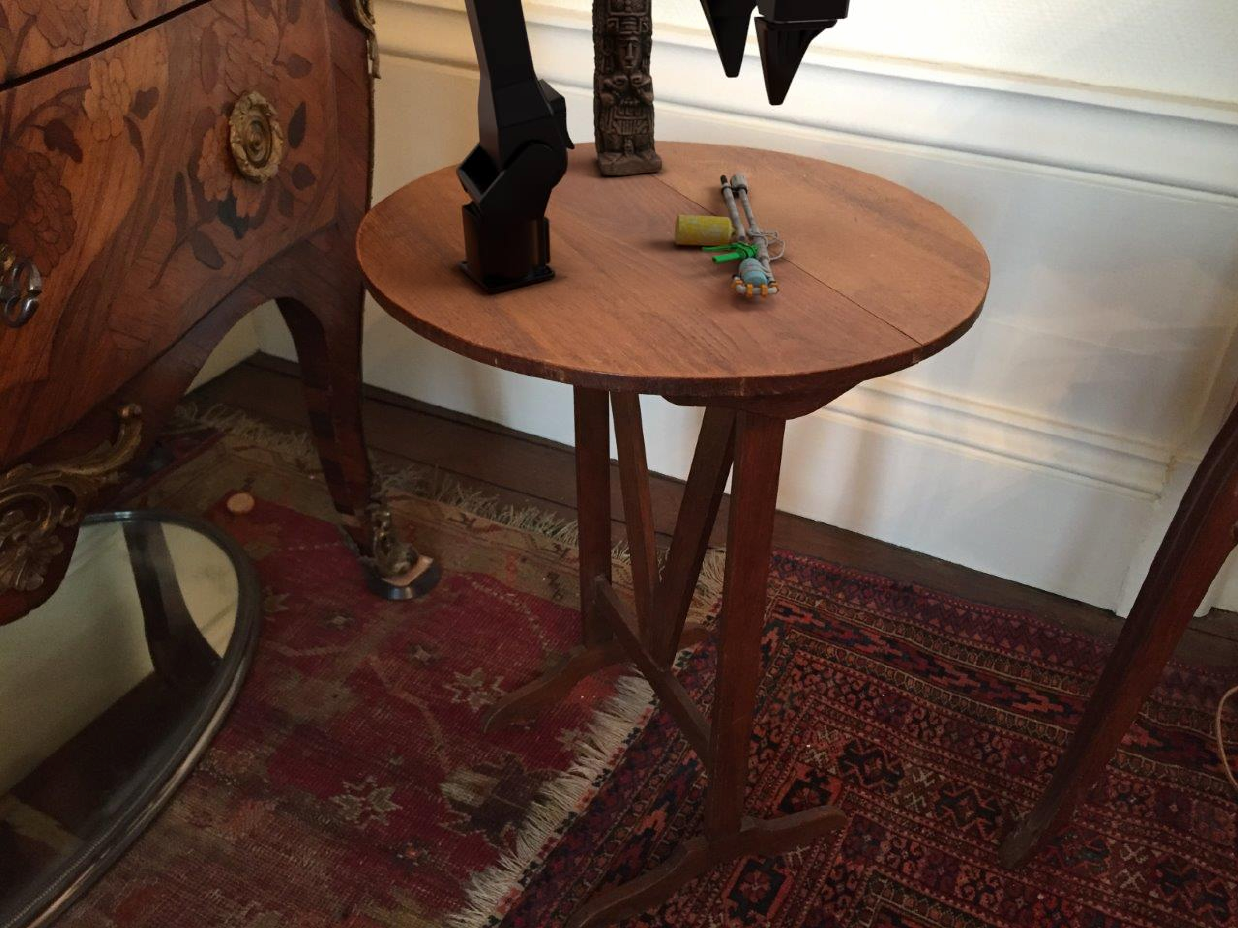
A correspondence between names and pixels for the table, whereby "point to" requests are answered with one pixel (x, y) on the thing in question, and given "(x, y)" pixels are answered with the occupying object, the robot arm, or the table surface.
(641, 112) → the statue
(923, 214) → the table surface
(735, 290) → the flamethrower
